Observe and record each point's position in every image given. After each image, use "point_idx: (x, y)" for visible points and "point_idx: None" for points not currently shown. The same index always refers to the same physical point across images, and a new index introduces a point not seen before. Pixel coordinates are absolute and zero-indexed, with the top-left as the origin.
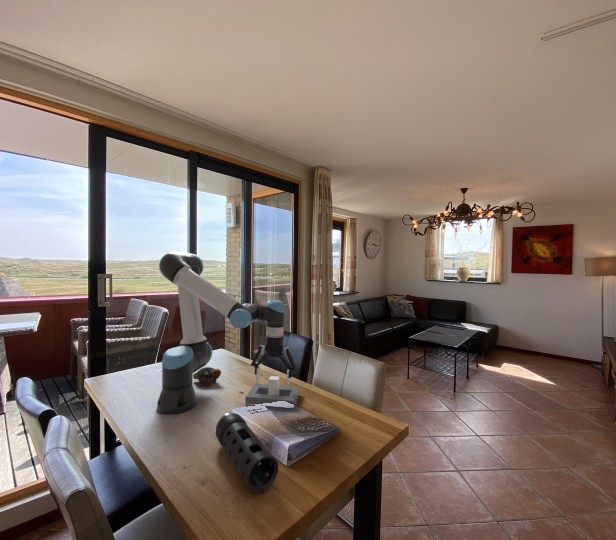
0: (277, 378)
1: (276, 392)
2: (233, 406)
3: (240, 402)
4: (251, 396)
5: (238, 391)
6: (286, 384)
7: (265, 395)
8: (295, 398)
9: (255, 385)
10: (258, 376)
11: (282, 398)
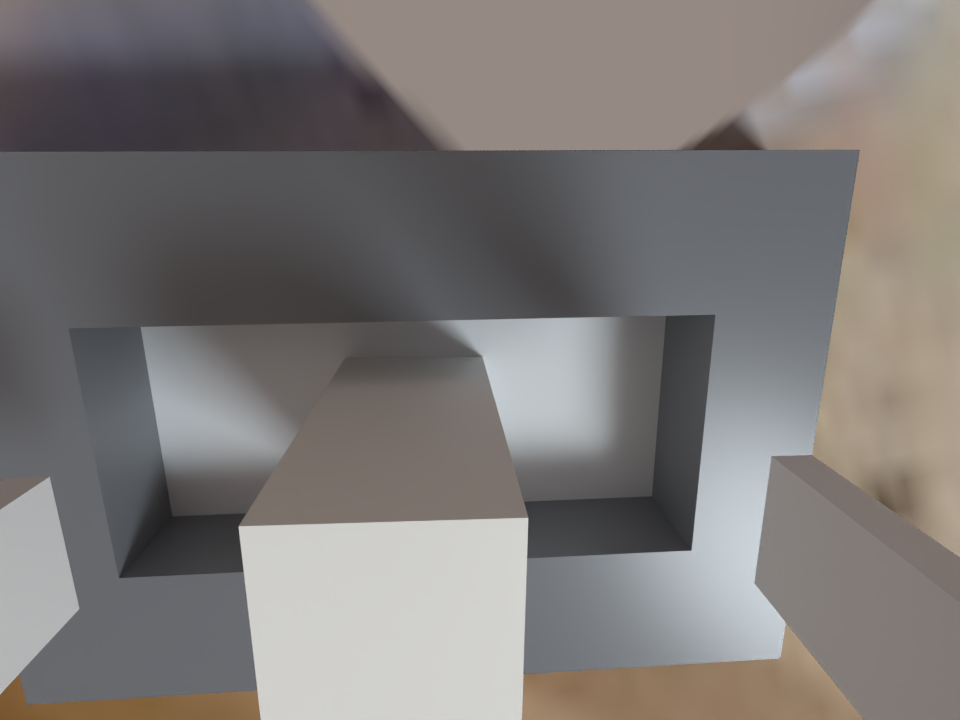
0: (278, 630)
1: (331, 396)
2: (929, 74)
3: (854, 220)
4: (751, 175)
5: (940, 520)
6: (22, 496)
7: (508, 272)
8: None
9: None
10: (874, 568)
11: (149, 213)
